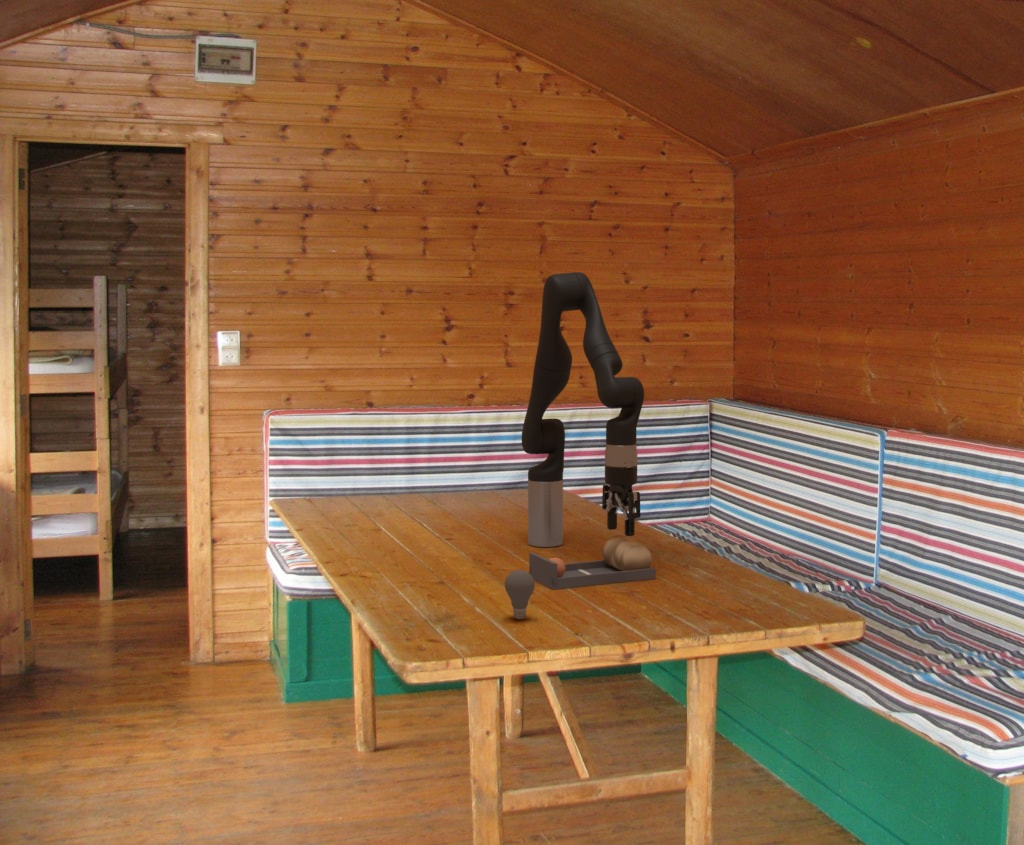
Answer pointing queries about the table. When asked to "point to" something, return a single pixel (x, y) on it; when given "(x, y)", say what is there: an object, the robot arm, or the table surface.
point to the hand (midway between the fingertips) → (620, 532)
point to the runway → (582, 573)
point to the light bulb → (519, 591)
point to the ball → (559, 566)
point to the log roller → (626, 555)
